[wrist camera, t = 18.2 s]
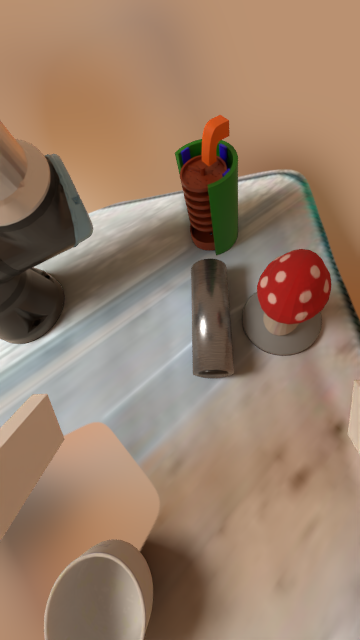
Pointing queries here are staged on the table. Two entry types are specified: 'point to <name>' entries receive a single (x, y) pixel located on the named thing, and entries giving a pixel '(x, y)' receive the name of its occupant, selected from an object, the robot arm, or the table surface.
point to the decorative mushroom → (293, 290)
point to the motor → (211, 187)
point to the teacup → (101, 596)
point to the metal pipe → (211, 320)
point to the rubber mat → (273, 343)
